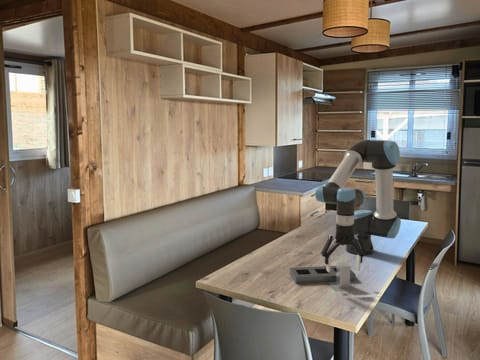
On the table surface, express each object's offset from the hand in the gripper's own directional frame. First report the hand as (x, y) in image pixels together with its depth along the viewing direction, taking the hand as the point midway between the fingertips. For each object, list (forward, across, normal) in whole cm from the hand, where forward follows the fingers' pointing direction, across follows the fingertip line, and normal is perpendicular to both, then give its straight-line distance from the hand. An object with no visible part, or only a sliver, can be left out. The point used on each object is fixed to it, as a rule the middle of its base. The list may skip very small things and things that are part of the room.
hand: (343, 270), depth 183 cm
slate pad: (+8, 0, 0) cm, 8 cm away
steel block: (+7, 0, 0) cm, 7 cm away
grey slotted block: (+8, -6, +11) cm, 15 cm away
